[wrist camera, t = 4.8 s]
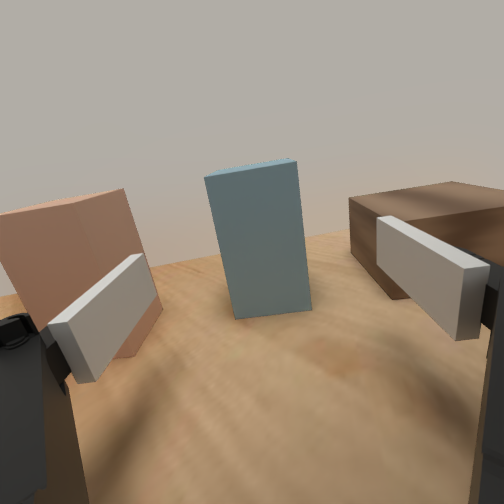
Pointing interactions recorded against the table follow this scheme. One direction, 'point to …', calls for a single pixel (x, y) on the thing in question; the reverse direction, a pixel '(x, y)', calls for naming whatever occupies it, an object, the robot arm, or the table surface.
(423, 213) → the base block
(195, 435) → the table surface
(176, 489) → the table surface
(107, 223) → the clay brick
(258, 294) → the blue brick
